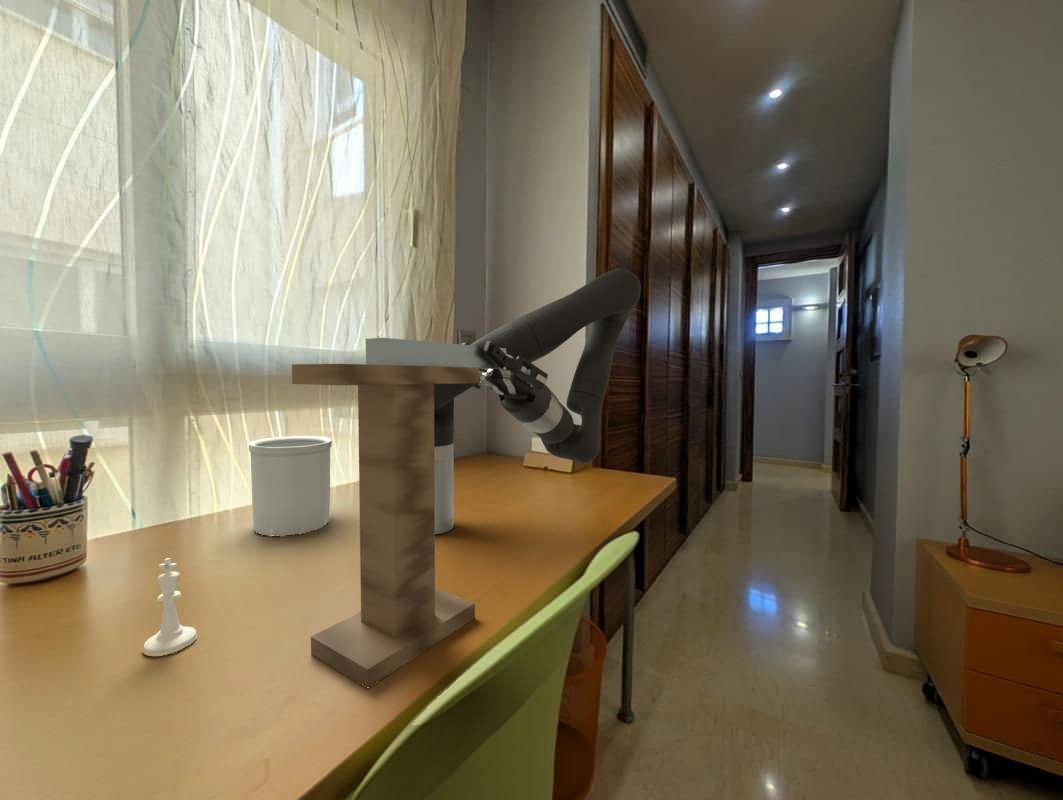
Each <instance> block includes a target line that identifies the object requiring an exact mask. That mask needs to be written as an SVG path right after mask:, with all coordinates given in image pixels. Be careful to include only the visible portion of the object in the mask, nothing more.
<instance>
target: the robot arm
mask: <svg viewBox="0 0 1063 800" xmlns="http://www.w3.org/2000/svg"><path fill="white" fill-rule="evenodd" d="M641 285H642V284H641V282H640V279H639V277H638V276H637V275H636V274H634V272H631V271H629V270H628V269H627V270H626V269H621V268H619V269H617V268H616V269H613V270H612V269H611V270H609V271H606V272H604V273H602V274H601V275H599V276H597V277H596V278H594V279H592V280H591V281H589V282H588V283H586V284H584V285H583V286H581V287H580V288H578V289H576V290H575V291H573V292H571V293H570V294H567V295H566V296H563V297H560V298H559V299H557V300H554V301H552V302H549V303H548V304H545V305H543V306H542V307H539V308H537V309H535V310H532V311H531V312H528V313H526V314H523V315H521V316H519V317H517V318H515V319H513V320H511V321H509V322H508V321H507V323H505V324H503V325H501V326H500V327H498V328H495V329H493V330H492V331H491V332H488V333H487V334H486V335H483V336H481V338H479V339H477V340H475V342H473V343H471V344H470V343H468V342H462V343H461V345H472V346H484V349H483V355H484V356H485V357H486V358H487V359H488V360H489V361H490V362H491V363H492V364H493V365H494V366H495V367H496V368H500V369H479V383H457V384H434V494H435V535H439V534H444V533H446V532H449V531H451V530H452V529H453V528H454V524H455V522H454V520H455V519H454V518H455V517H454V515H455V512H454V509H455V506H454V505H455V502H454V501H455V496H454V495H455V494H454V493H455V492H454V491H455V490H454V489H455V487H454V486H455V485H454V483H455V481H454V480H455V479H454V476H455V475H454V474H455V473H454V471H455V470H454V469H455V468H454V464H455V463H454V460H455V459H454V451H455V450H454V449H455V448H454V433H455V431H454V430H455V429H454V428H455V421H454V420H455V415H454V414H455V412H454V411H455V398H457V397H459V396H460V395H462V394H463V393H465V392H466V391H468V390H470V389H471V388H473V387H474V388H475V389H477V390H480V389H481V388H482V386H487V387H489V389H490V390H491V391H493V392H495V393H496V394H498V397H499V400H500V404H501V407H502V408H503V409H504V410H505V411H507V412H508V414H510V415H511V416H513V417H514V418H515V419H516V421H518V422H519V423H521V424H522V425H523V426H524V427H525V428H527V429H529V430H530V431H532V432H533V433H535V435H536V436H538V437H539V438H540V441H541V442H542V445H543V447H544V448H545V450H546V451H547V452H548V453H549V454H551V455H552V456H554V457H557V458H561V459H564V460H569V461H573V462H577V463H582V464H589V463H590V462H592V461H594V459H595V458H596V457H597V456H598V454H599V452H600V448H601V439H602V438H601V436H602V435H601V433H602V432H601V421H602V418H601V417H602V407H603V404H604V400H605V396H606V392H607V389H608V384H609V381H610V376H611V370H612V364H613V357H614V352H615V349H616V344H617V342H618V338H619V337H620V335H621V332H622V330H623V328H624V326H625V323H626V321H627V320H628V318H629V317H630V316H631V315H632V313H633V312H634V310H635V309H636V307H637V305H638V303H639V300H640V296H641V292H642V286H641ZM588 325H589V326H588ZM587 326H588V330H587V331H588V332H587V336H586V340H585V344H584V347H583V350H582V353H581V356H580V358H579V360H578V363H577V365H576V369H575V371H574V374H573V377H572V381H571V384H570V387H569V391H568V395H567V399H566V407H565V406H564V405H563V404H562V403H561V402H560V399H559V398H558V397H557V395H556V393H554V392H553V391H552V390H551V388H550V387H548V386H547V380H548V377H549V374H548V373H546V372H545V371H543V370H542V369H541V368H540V367H538V366H536V365H535V364H533V363H534V362H535V361H537V360H540V359H541V358H543V357H545V356H547V355H549V354H551V353H552V352H554V351H555V350H556V349H558V348H559V347H560V346H561V345H563V344H564V343H566V341H568V340H569V339H570V338H571V337H573V336H574V335H575V334H576V333H578V332H579V331H580V330H582V329H583V328H585V327H587ZM500 348H506V354H505V353H504V352H503V351H502V350H501V349H500ZM523 367H524V368H525V369H526V370H524V369H523ZM567 408H568V409H567ZM570 412H572V413H575V414H577V415H579V416H580V417H581V424H576V423H574V418H573V415H572V414H571V413H570Z"/></svg>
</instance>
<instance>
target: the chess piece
mask: <svg viewBox="0 0 1063 800" xmlns="http://www.w3.org/2000/svg"><path fill="white" fill-rule="evenodd" d="M177 568H178V563H177V562H173V563H172V557H167V558H164V562H163V563H160V564H158V570H162V569H163V570H164V573H162V574H160V575H158V577H157V579H156V581H157V582H158V584H159V587H160V589H161V591H162V593H161V594H159V595H158V597H157V599H156V600H157V602H158V603H159V602H160V603H163V608H162V609H163V611H162V619H161V628H160V630H159V631H158V632H157V633H156V634H154V635H152V636H150V637H149V638H148V639H147V640H146V641H145V642H144V643H143V649H144V650H145V652H146V653H148V654H153V655H154V654H155V655H156V654H157V655H158V654H165V653H169V652H173V651H175V650H177V649H181V648H183V647H186V646H188V645H189V644H191V643H192V642H194V640H195V639H196V638H197V639H198V634H197V632H198V631H197V629H196V628H195V627H192V626H183V625H182V624H180V621H179V617H178V611H177V606H176V599H178V598H180V597H181V596H182V593H181V591H179V590H176V587H177V584H178V581H179V578H180V572H178V571H172V570H173V569H177ZM197 639H196V640H197ZM194 643H195V642H194Z"/></svg>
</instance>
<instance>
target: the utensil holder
mask: <svg viewBox="0 0 1063 800" xmlns="http://www.w3.org/2000/svg"><path fill="white" fill-rule="evenodd" d="M332 445H333V442H332V439H331V438H330V437H324V436H317V435H316V436H314V435H313V436H312V435H311V436H310V435H296V436H295V435H294V436H291V435H290V436H279V437H269V438H268V437H267V438H261V439H256V440H254V441H250V442H249V443H248V451H249V453H250V474H251V475H250V477H251V478H250V479H251V480H250V481H251V504H252V505H251V507H252V508H251V510H252V524H253V525H252V526H253V531H254V530H255V531H256V532H257V533H259V534H264V535H274V536H277V535H278V536H280V537H286V536H285V535H293V536H295V535H294V534H299V533H304V534H306V533H305V532H308V533H310V532H309V531H312V530H315V529H318V528H320V529H321V527H322V528H324V527H325V526H327V525H326V524H327V523H328V524H329V522H330V505H331V503H330V502H331V448H332ZM324 525H325V526H324ZM323 526H324V527H323ZM318 530H319V529H318ZM255 531H254V532H255ZM315 531H316V530H315ZM312 532H313V531H312ZM257 533H256V534H257ZM259 534H258V535H259ZM283 535H284V536H283ZM299 535H300V534H299Z"/></svg>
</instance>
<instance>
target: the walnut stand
mask: <svg viewBox="0 0 1063 800" xmlns="http://www.w3.org/2000/svg"><path fill="white" fill-rule="evenodd" d="M291 383H292V385H310V386H313V385H315V386H316V385H317V386H357V406H358V407H357V408H358V410H357V412H358V413H357V416H358V417H357V419H358V421H357V422H358V423H357V424H358V481H359V482H358V483H359V484H358V487H359V490H358V491H359V495H358V496H359V498H358V499H359V500H358V501H359V547H360V548H359V557H360V558H359V559H360V560H359V563H360V565H359V566H360V612H358V613H355V614H353V615H352V616H350V617H348V618H346V619H344V620H342V621H339V622H338V623H336V624H334V625H333V624H332V625H331V626H330V627H328V628H327V627H326V629H324V630H320V631H318V632H317V633H315V634H313V635H311V636H310V655H312V656H313V657H315V658H317V660H320V661H322V662H323V663H325V664H326V665H329V667H331V668H333V669H335V670H336V671H338V672H339V673H341V674H343V675H344V676H346V677H347V676H348V677H347V678H349V677H350V679H351V680H352V679H354V680H355V681H354V680H353V681H354V682H356V681H357V682H359V683H361V684H363V685H364V686H366V687H370V686H371V685H373V684H375V683H376V682H378V681H379V682H381V681H382V680H384V679H385V678H384V677H386V676H387V677H389V676H390V675H391V673H392V674H393V673H395V672H396V671H398V670H399V669H401V668H402V667H403V666H406V665H407V664H408V663H410V662H412V661H413V660H414V659H416V658H417V657H419V656H420V655H422V654H423V653H425V652H426V651H427V650H429V649H430V648H432V647H434V646H435V645H437V644H438V643H440V642H441V641H443V640H444V639H446V638H447V637H448V636H451V635H452V634H453V633H455V632H456V631H458V630H460V629H461V628H462V627H464V626H465V625H467V624H468V623H470V622H472V621H473V620H474V619H475V618H476V602H473V601H470V600H468V599H465V598H462V597H461V596H457V595H456V594H451V593H449V592H447V591H444V590H441V589H438V588H436V565H435V564H436V562H435V561H436V559H435V558H436V553H435V552H436V551H435V549H436V548H435V547H436V546H435V545H436V541H435V540H436V538H435V537H436V534H435V494H434V384H457V383H479V368H475V367H438V366H402V365H366V363H365V364H363V363H361V364H359V363H311V364H310V363H308V364H307V363H306V364H304V363H301V364H300V363H298V364H295V363H294V364H293V363H292V364H291ZM406 663H407V664H406ZM401 666H402V667H401ZM400 667H401V668H400ZM398 668H399V669H398ZM397 669H398V670H397ZM394 671H395V672H394ZM388 675H389V676H388ZM387 677H386V678H387ZM383 678H384V679H383ZM381 679H382V680H381ZM380 680H381V681H380ZM357 682H356V683H357ZM379 682H378V683H379ZM359 683H358V684H359ZM376 684H377V683H376ZM376 684H375V685H376ZM364 686H363V687H364ZM373 686H374V685H373ZM370 688H371V687H370Z"/></svg>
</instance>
